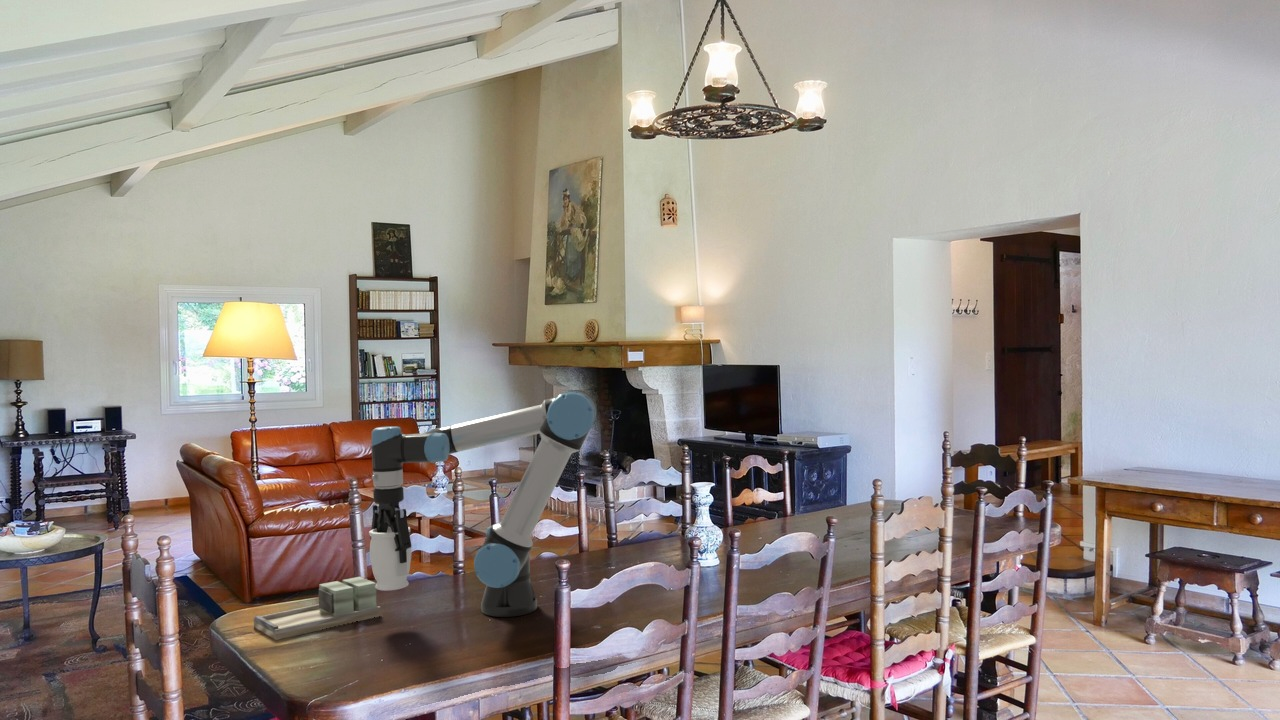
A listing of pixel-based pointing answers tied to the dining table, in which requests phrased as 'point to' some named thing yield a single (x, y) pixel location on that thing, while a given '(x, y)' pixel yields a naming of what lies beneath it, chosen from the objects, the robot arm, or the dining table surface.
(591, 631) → the dining table surface
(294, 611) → the rail board
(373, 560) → the jar
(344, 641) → the dining table surface
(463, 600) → the dining table surface
